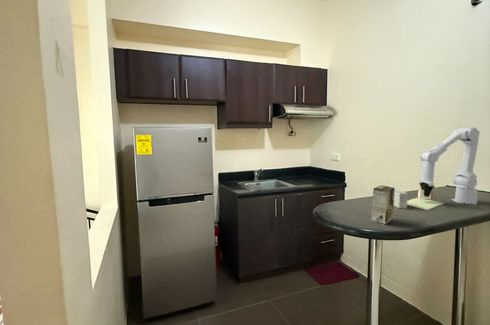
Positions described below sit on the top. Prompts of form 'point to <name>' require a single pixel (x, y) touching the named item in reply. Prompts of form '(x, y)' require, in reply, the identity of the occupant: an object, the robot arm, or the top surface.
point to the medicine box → (400, 199)
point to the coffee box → (383, 204)
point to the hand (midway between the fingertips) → (425, 195)
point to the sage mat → (423, 203)
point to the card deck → (421, 195)
